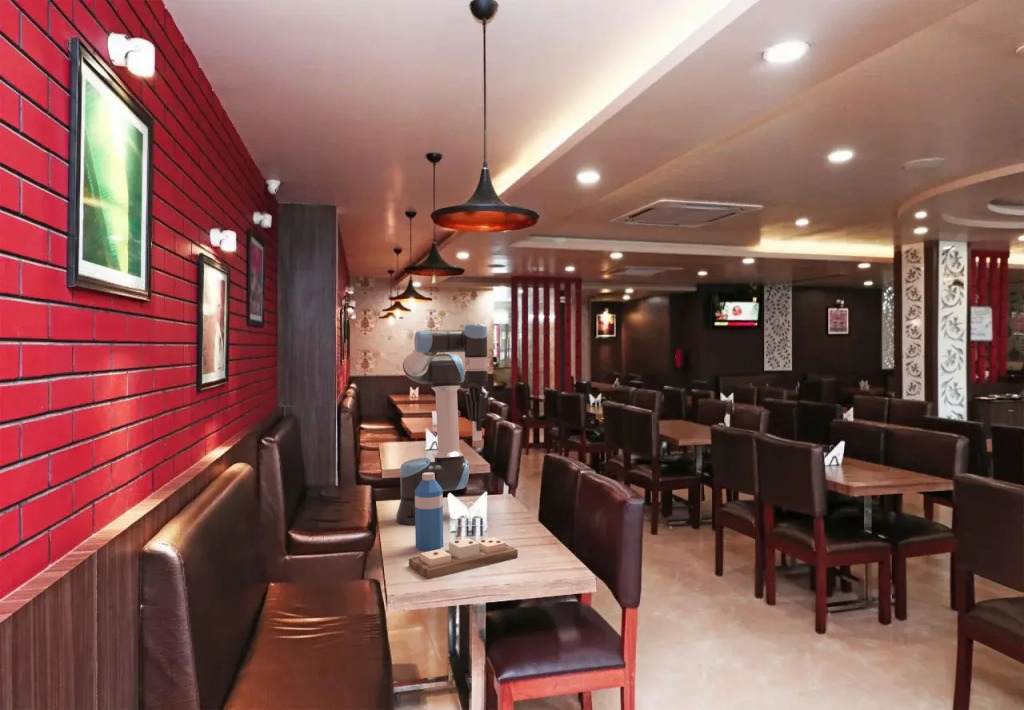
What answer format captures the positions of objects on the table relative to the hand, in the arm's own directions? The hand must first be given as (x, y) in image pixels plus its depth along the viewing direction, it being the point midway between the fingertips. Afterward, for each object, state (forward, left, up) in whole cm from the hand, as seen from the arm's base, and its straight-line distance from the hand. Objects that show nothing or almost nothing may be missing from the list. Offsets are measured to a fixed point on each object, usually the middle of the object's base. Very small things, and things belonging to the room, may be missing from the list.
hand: (477, 440), depth 219 cm
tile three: (+9, -1, -36) cm, 37 cm away
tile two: (+9, -11, -34) cm, 37 cm away
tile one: (+9, -21, -36) cm, 42 cm away
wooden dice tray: (+9, -11, -36) cm, 39 cm away
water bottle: (-11, -13, -37) cm, 40 cm away
